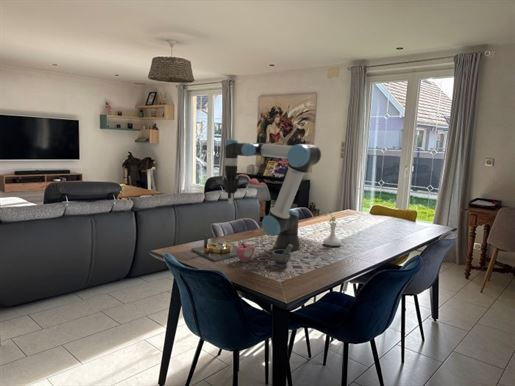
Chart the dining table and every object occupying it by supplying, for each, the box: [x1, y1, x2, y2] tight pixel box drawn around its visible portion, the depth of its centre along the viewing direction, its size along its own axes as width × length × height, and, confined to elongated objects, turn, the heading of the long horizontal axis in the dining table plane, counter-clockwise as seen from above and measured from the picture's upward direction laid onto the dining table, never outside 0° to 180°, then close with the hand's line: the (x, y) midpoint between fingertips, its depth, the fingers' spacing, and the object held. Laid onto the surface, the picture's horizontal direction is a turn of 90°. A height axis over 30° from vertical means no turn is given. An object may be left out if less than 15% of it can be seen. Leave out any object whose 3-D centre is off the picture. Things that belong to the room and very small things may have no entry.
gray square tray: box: [190, 241, 239, 262], centre depth 217 cm, size 24×24×5 cm
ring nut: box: [203, 233, 234, 253], centre depth 216 cm, size 16×13×10 cm
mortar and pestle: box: [271, 244, 293, 268], centre depth 197 cm, size 11×9×12 cm
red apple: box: [236, 242, 255, 263], centre depth 202 cm, size 10×9×10 cm
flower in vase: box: [322, 205, 342, 247], centre depth 236 cm, size 13×11×25 cm
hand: (230, 203), depth 236 cm, fingers closed
